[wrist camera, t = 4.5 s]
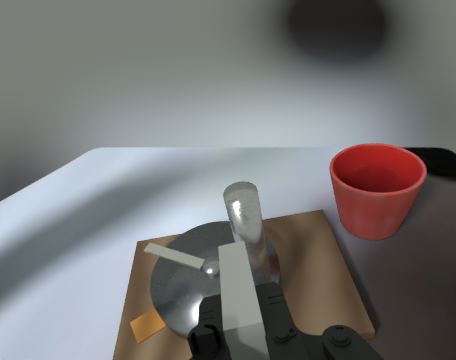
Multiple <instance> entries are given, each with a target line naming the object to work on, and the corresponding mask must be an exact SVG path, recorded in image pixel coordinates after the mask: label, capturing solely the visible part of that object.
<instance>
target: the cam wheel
mask: <svg viewBox="0 0 456 360" xmlns="http://www.w3.org/2000/svg"><path fill="white" fill-rule="evenodd" d="M223 196H224V201H225V205H226V209H227V213H228V217H229V220H230V222H229V221H220V222H212V223H207V224H203V225H200V226H197V227H195V228H193V229H190V230H189V231H187V232H185V233H183V234H182V235H180V236H179V237H177V238H176V239H175V240H174V241H172V242H171V243H170V244H169V245H168V246H167V247H163V246H160V245H156V244H153V243H149V244H148V245H147V246H146V248H145V249H144V252H146V253H149V254H152V255H155V256H158V257H159V258H158V260H157V262H156V264H155V266H154V269H153V271H152V275H151V280H150V295H151V299H152V303H153V305H154V307H155V309H156V311H157V313H158V314H159V316H160V318H161V319H162V321H163V322H164V324H165V325H166V326H167V327H168V328H169V329H170V330H171V331H172V332H173V333H174V334H176V335H177V336H179V337H181V338H183V339H185V340H187V337H188V334H189V332H190V331H191V330H192V328H194V327H195V326H197V325H198V315H199V314H198V313H199V304H200V303H201V301H202V299H203V298H204V297H209V296H213V295H218V294H221V284H220V266H219V249H218V246H222V245H226V244H231V243H235V242H240V241H244V242H245V246H246V251H247V255H248V260H249V264H250V268H251V273H252V277H253V281H254V286H255V285H260V284H264V283H269V282H273V281H275V282H276V283H277V284H278V285H280V286H281V273H280V265H279V259H278V256H277V252H276V250H275V248H274V246H273V245H272V243H271V242H270V241H269V239H268V238H267V237H266V236H265V234H264V228H263V222H262V215H261V209H260V203H259V197H258V190H257V187H256V186H255V185H254V184H252V183H250V182H237V183H234V184H232V185H230V186H228V187H227V188H226V189H225V191H224V194H223Z"/></svg>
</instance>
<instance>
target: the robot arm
mask: <svg viewBox="0 0 456 360" xmlns="http://www.w3.org/2000/svg"><path fill="white" fill-rule="evenodd" d="M218 249H219V266H220V284H221V294H218V295H213V296H209V297H204V298H203V299H202V301H201V303H200V304H199V313H198V314H199V315H198V325H197V326H195V327H194V328H192V330H191V331H190V332H189V334H188V337H187V340H188V343H189V347H190V350H191V353H192V357H191V358H190V359H189V360H384V359H383V358H382V357H381V356H380V355H379V354H378V353H377V352H376V351H375V350H374V349H373V348H372V347H371V346H370V345H369V344H368V343H367V342H366V341H365V340H364V339H363V338H362V337H361V336H360V335H359V334H358V333H357V332H356V331H355V330H353V329H352V328H351V327H348V326H345V325H334V326H330V327H328V328H327V329H325V330H324V332H323V334H322V335H311V334H307V333H304V332H302V331H300V330H299V329H298V328H297V327H296V326H295V324H294V321H293V318H292V316H291V313H290V310H289V307H288V305H287V302H286V299H285V296H284V294H283V291H282V288H281V286H280V285H278V284H277V283H276V282H275V281H273V282H269V283H264V284H260V285H255V286H254V281H253V277H252V273H251V268H250V264H249V260H248V255H247V251H246V246H245V242H244V241H240V242H235V243H231V244H226V245H222V246H218Z"/></svg>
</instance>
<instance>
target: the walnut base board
mask: <svg viewBox="0 0 456 360" xmlns="http://www.w3.org/2000/svg"><path fill="white" fill-rule="evenodd" d="M262 222H263V228H264V234H265V236H266V237H267V238H268V239H269V241H270V242H271V243H272V245H273V246H274V248H275V250H276V252H277V256H278V259H279V265H280V273H281V288H282V291H283V294H284V296H285V299H286V302H287V305H288V307H289V310H290V313H291V316H292V318H293V321H294V324H295V326H296V327H297V328H298V329H299V330H300V331H302V332H304V333H307V334H311V335H322V334H323V332H324V330H325V329H327V328H328V327H330V326H334V325H345V326H348V327H351V328H352V329H353V330H355V331H356V332H357V333H358V334H359V335H360V336H361V337H362V338H363V339H364V340H367V339H373V338H374V335H375V330H374V328H373V325H372V323H371V321H370V318H369V316H368V314H367V312H366V309H365V307H364V305H363V302H362V300H361V298H360V295H359V293H358V291H357V288H356V286H355V284H354V281H353V279H352V277H351V275H350V272H349V270H348V268H347V265H346V263H345V261H344V258H343V256H342V254H341V251H340V249H339V247H338V244H337V242H336V240H335V238H334V235H333V233H332V231H331V228H330V226H329V224H328V221H327V219H326V217H325V214H324V212H323V210H318V211H312V212H306V213H300V214H294V215H289V216H283V217H277V218H271V219H265V220H262ZM180 235H182V234H178V235H173V236H167V237H161V238H155V239H150V240H144V241H138V242H137V246H136V251H135V256H134V260H133V265H132V270H131V275H130V280H129V284H128V289H127V294H126V299H125V303H124V308H123V313H122V318H121V323H120V327H119V332H118V337H117V342H116V346H115V351H114V356H113V360H189V359H190V358H191V357H192V353H191V350H190V347H189V343H188V340H185V339H183V338H181V337H179V336H177V335H176V334H174V333H173V332H172V331H171V330H170V329H169V328H168V327H167V326H166V325H165V324H164V322H163V321H162V319H161V318H160V316H159V314H158V313H157V311H156V309H155V307H154V305H153V303H152V299H151V295H150V280H151V275H152V271H153V269H154V266H155V264H156V262H157V260H158V258H159V257H158V256H155V255H152V254H149V253H146V252H144V249H145V248H146V246H147V245H148V244H149V243H153V244H156V245H160V246H163V247H167V246H168V245H169V244H170V243H171V242H172V241H174V240H175V239H176V238H177V237H179V236H180Z"/></svg>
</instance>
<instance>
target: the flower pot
mask: <svg viewBox="0 0 456 360" xmlns="http://www.w3.org/2000/svg"><path fill="white" fill-rule="evenodd" d="M330 175H331V180H332V185H333V189H334V194H335V199H336V204H337V208H338V212H339V216H340V220H341V223H342V225H343V226H344V228H345V229H346V230H347V231H348V232H350V233H351V234H353V235H355V236H358V237H360V238H363V239H368V240H381V239H385V238H388V237H390V236H392V235H393V234H395V233H396V231H397V230H398V228H399V227H400V225H401V223H402V222H403V220H404V218H405V217H406V215H407V213H408V212H409V210H410V208H411V206H412V204H413V202H414V201H415V199H416V197H417V195H418V193H419V191H420V189H421V187H422V185H423V183H424V181H425V178H426V175H427V170H426V166H425V164H424V163H423V161H422V160H421V159H420V158H419V157H418V156H416V155H415V154H413V153H412V152H410V151H408V150H405V149H403V148H400V147H397V146H392V145H386V144H361V145H356V146H352V147H349V148H347V149H344V150H343V151H341V152H339V153H338V154H337V155H336V156H335V157H334V158H333V159H332V161H331V163H330Z"/></svg>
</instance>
